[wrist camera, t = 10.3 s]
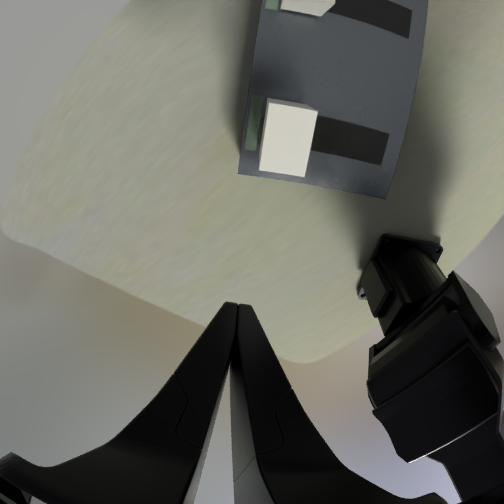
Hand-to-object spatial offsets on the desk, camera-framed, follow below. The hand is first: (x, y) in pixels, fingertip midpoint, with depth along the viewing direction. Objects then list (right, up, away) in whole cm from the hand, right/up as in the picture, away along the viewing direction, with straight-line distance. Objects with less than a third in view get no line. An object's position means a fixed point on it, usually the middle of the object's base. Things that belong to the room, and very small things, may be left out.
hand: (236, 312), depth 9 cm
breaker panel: (+5, +13, +5) cm, 15 cm away
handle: (+2, +8, +5) cm, 10 cm away
